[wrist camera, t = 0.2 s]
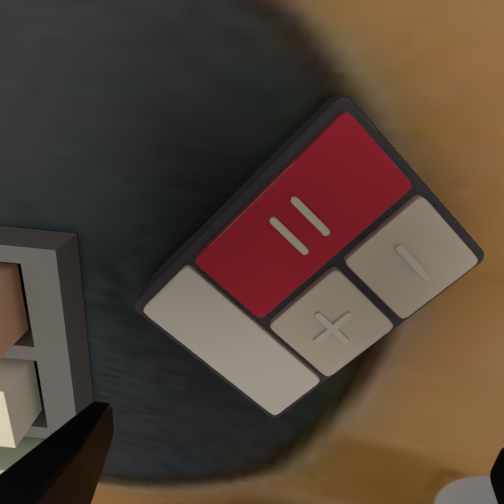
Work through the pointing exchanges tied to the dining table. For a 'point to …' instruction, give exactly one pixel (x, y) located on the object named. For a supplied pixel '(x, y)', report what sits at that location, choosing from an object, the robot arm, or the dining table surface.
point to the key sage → (17, 451)
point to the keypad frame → (52, 322)
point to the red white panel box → (309, 261)
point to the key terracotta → (11, 307)
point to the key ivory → (17, 399)
